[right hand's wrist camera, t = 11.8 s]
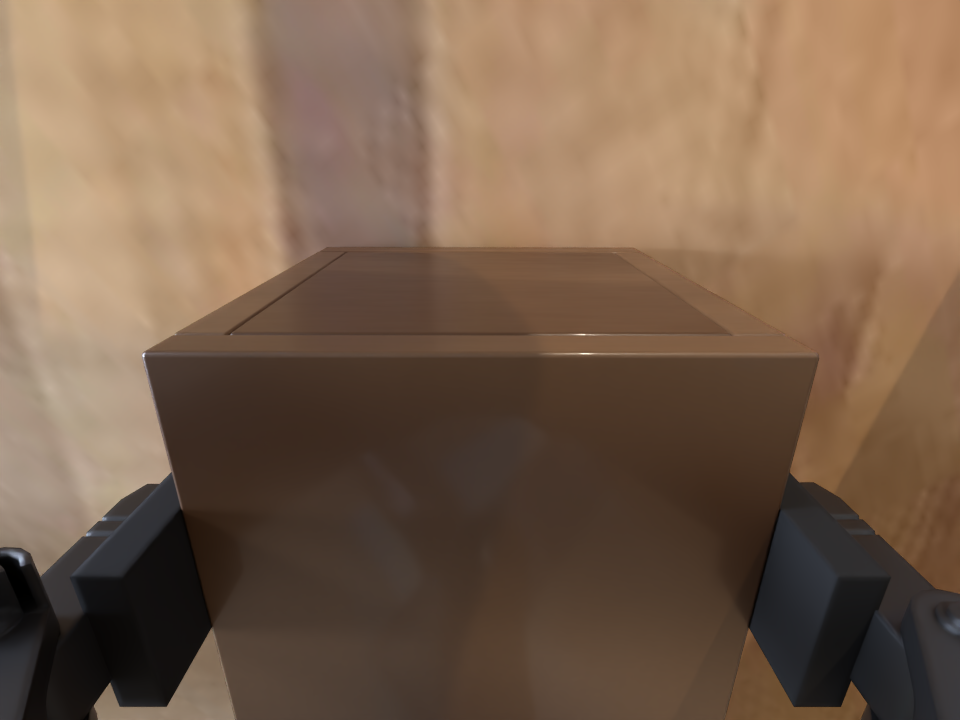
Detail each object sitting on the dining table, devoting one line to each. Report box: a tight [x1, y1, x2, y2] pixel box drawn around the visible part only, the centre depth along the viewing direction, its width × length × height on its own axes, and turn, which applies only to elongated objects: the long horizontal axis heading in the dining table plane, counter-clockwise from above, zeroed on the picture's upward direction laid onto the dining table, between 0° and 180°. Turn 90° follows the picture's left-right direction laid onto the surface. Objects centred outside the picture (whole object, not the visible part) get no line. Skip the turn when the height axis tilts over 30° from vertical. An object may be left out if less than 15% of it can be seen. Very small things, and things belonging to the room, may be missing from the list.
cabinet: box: [142, 247, 819, 720], centre depth 16 cm, size 21×10×10 cm, turn 0°
